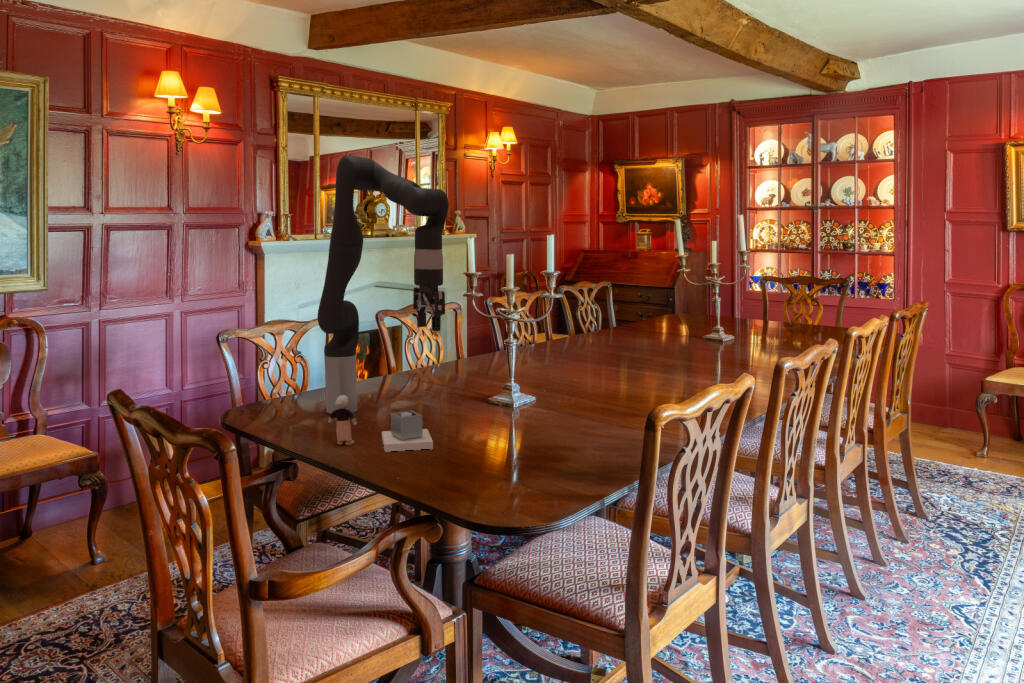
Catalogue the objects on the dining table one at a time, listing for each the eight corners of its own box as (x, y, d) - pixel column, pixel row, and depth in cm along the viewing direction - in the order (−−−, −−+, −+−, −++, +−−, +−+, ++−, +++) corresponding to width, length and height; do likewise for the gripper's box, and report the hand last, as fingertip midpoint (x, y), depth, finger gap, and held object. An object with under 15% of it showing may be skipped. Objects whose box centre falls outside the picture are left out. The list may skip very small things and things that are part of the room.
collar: (412, 430, 198) (411, 410, 197) (422, 436, 193) (422, 415, 192) (391, 433, 195) (390, 413, 194) (400, 439, 190) (400, 418, 189)
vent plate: (381, 438, 199) (381, 409, 198) (427, 436, 202) (427, 407, 200) (384, 452, 187) (384, 421, 186) (433, 449, 190) (432, 418, 189)
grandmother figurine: (359, 441, 197) (358, 393, 195) (357, 445, 193) (355, 397, 191) (329, 441, 197) (328, 393, 195) (326, 445, 193) (325, 397, 191)
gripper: (454, 268, 191) (454, 331, 194) (429, 265, 203) (429, 324, 206) (427, 269, 188) (427, 333, 190) (404, 265, 199) (404, 326, 202)
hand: (428, 328), depth 198 cm, fingers open, 8 cm apart
